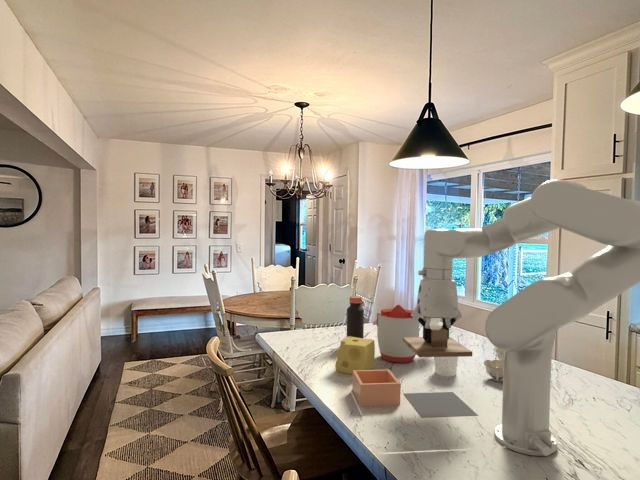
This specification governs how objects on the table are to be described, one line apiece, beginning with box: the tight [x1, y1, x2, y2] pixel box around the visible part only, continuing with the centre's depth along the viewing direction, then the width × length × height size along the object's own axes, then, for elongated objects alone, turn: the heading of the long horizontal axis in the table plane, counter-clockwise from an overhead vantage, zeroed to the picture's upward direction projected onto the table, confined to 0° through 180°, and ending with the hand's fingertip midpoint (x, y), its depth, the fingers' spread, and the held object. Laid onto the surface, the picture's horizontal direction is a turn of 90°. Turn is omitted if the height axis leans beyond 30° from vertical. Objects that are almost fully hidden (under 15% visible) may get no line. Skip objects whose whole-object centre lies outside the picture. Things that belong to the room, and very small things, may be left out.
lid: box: [403, 324, 473, 358], centre depth 111 cm, size 14×14×6 cm
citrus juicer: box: [372, 304, 421, 364], centre depth 150 cm, size 16×17×20 cm
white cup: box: [433, 357, 459, 377], centre depth 135 cm, size 8×8×10 cm
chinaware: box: [483, 347, 505, 382], centre depth 135 cm, size 28×17×17 cm, turn 151°
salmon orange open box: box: [351, 369, 402, 407], centre depth 115 cm, size 11×11×6 cm
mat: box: [403, 391, 479, 419], centre depth 111 cm, size 15×15×1 cm
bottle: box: [346, 295, 365, 338], centre depth 165 cm, size 7×7×20 cm
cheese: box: [334, 336, 376, 375], centre depth 137 cm, size 10×11×10 cm
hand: (435, 341), depth 111 cm, fingers closed on lid, 4 cm apart
